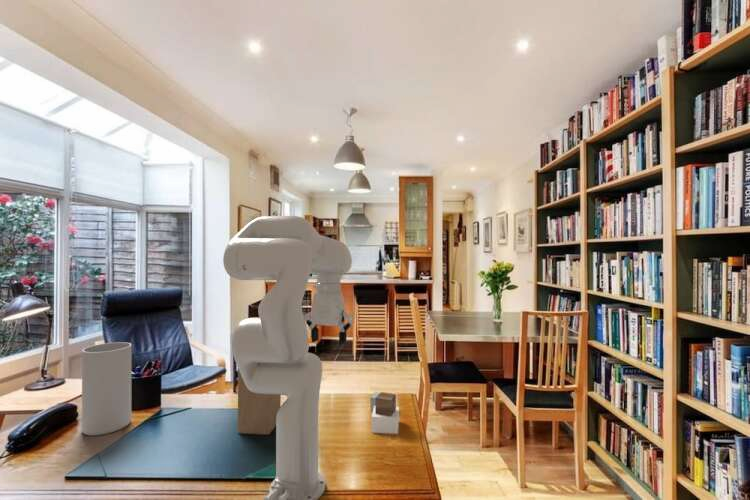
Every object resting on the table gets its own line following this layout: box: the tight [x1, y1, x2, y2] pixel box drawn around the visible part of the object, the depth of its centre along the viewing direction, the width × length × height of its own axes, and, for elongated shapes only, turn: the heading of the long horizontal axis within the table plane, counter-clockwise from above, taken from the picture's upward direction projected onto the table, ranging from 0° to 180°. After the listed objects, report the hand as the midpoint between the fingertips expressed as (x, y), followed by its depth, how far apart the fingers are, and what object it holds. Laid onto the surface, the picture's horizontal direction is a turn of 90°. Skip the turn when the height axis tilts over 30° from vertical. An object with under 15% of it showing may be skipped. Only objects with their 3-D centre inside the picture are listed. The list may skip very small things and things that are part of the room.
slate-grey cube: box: [370, 391, 381, 413], centre depth 126 cm, size 5×5×5 cm
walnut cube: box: [376, 391, 397, 416], centre depth 114 cm, size 5×5×5 cm
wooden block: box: [237, 369, 282, 436], centre depth 114 cm, size 10×10×20 cm
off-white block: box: [370, 406, 400, 435], centre depth 114 cm, size 8×8×5 cm
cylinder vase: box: [81, 341, 133, 437], centre depth 114 cm, size 12×12×25 cm
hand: (328, 342), depth 115 cm, fingers open, 9 cm apart
